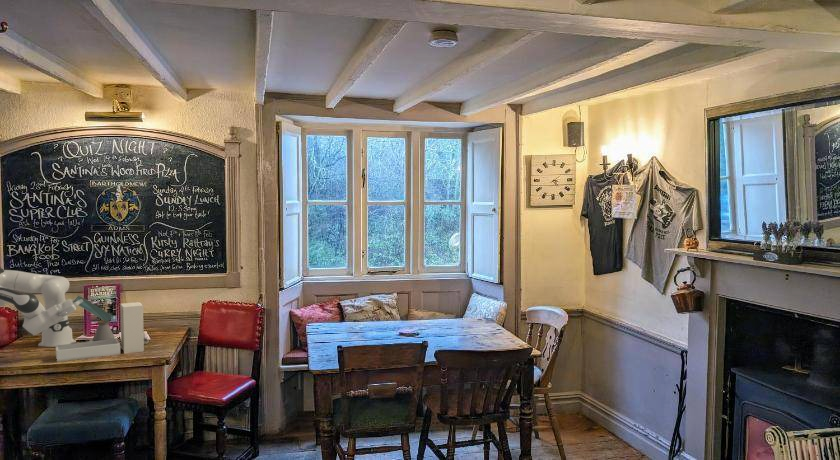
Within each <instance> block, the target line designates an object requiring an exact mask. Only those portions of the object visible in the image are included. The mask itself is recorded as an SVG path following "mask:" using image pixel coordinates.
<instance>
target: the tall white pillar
mask: <svg viewBox="0 0 840 460" xmlns="http://www.w3.org/2000/svg"><path fill="white" fill-rule="evenodd" d="M119 306H120V350H121V351H122V350H123V353H124V354H133V353H141V352H145V348H144V347H145V346H144V345H145V344H144V342H145V340H144V333H145V332H144V330H145V329H144V305H143V304H142V303H141V302H139V301H136V302H125V303H120V305H119Z"/></svg>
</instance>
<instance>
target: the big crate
mask: <svg viewBox="0 0 840 460" xmlns="http://www.w3.org/2000/svg"><path fill="white" fill-rule="evenodd" d="M110 355H111V356H117V355H118V356H119V355H121V342H120V341H119V340H118V338H114V339H110V340H101V341H84V342H75V343H71V344H65V345H56V347H55V358H56V359H57V360H56V363H62V362H61V361H63V362H69V361H68V360H71V361H77V360H78V359H79V360H86V359H95V358H103V357H109V356H110ZM102 356H103V357H102Z"/></svg>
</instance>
